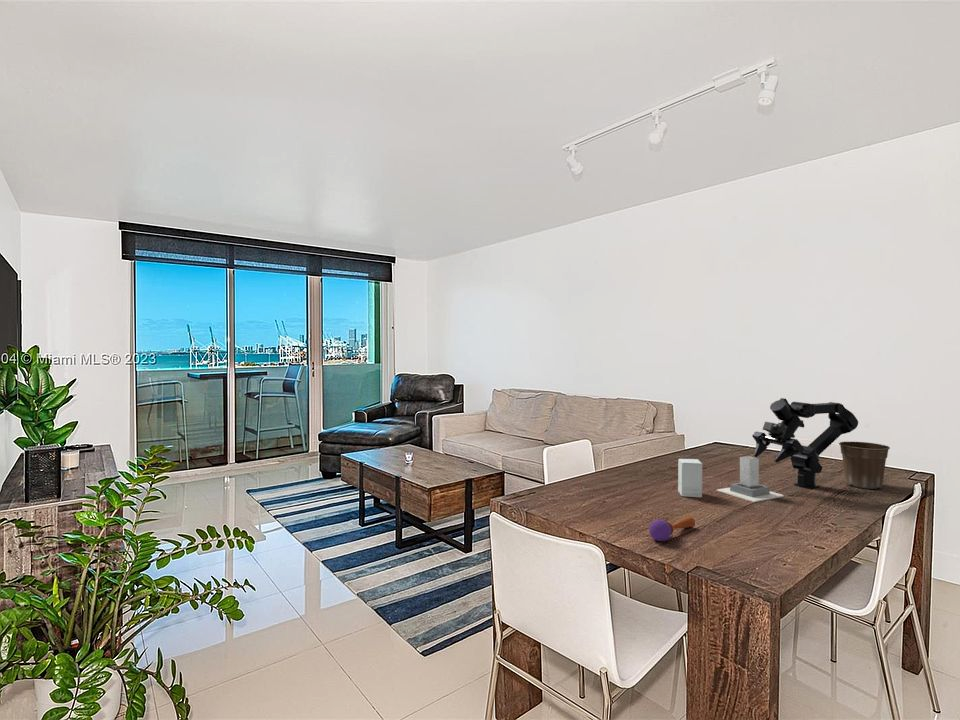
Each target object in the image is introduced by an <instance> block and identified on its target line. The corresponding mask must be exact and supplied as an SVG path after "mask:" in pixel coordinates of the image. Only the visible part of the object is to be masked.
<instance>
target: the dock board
mask: <svg viewBox="0 0 960 720" xmlns="http://www.w3.org/2000/svg"><path fill="white" fill-rule="evenodd" d="M770 490H771V489H770V486H767V485H763V484H759V488H756V489H749V488H745V487H742V486H740V482H735V483H730V484H729V487H724V488H718V489H716V492H717V491H718V492H720V493H723V494H727V495H730V496H733V497H736V498H739V499H742V500H746V501H749V502H752V503H756V502H757V503H758V502H762V501H767V500H772V499H773V500H774V499H778V498H783V497H785V495H784V494H780V493H777V492H774V491H770Z"/></svg>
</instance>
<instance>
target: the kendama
mask: <svg viewBox="0 0 960 720" xmlns="http://www.w3.org/2000/svg"><path fill="white" fill-rule="evenodd" d="M695 525H696V522H695V519H694V517H692V516H685V517H684V518H682V519H680V520H679V521H677V522H675V523H670V522H668V521H666V520H663V519H655V520H654V521H652V522H651V523H650V525H649V527H648V529H649V530H648V531H649V534H650V536H651V538H653V539H654V541H657V542H660V541H662V542H665V541H667V540H669V539H670V537H671V536H672V535H673V533H674V530H677V529H689V527H690V528H693V527H695Z"/></svg>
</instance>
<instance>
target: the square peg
mask: <svg viewBox="0 0 960 720" xmlns="http://www.w3.org/2000/svg"><path fill="white" fill-rule="evenodd" d="M739 483H740V486H742V487H745V488H749V489H756V488H759V485H760V459H759V457H755V456H749V455H748V456H746V455H745V456H739Z"/></svg>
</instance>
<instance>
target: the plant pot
mask: <svg viewBox="0 0 960 720" xmlns="http://www.w3.org/2000/svg"><path fill="white" fill-rule="evenodd" d="M838 445H839V447H840V454H842V466H843V477H844V484H846V485H847V486H853V487H855V488H859V489H865V490H866V489H867V490H877V489H882V488H883V485H884V477H885V468H886V461H887V458H888V455H889V450H890V448H891V447H890V446H889V445H885V444H881V443H876V442H875V443H874V442H868V441H867V442H865V441H841V442H838Z"/></svg>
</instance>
